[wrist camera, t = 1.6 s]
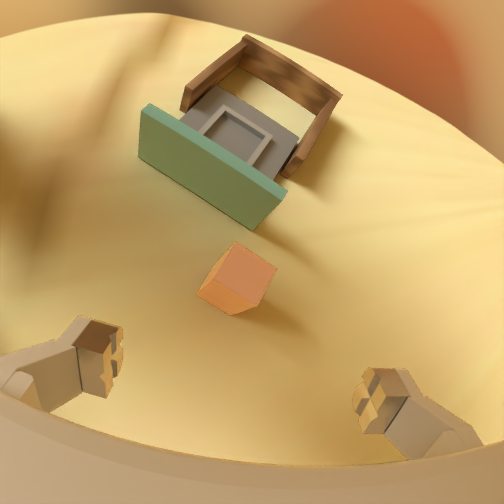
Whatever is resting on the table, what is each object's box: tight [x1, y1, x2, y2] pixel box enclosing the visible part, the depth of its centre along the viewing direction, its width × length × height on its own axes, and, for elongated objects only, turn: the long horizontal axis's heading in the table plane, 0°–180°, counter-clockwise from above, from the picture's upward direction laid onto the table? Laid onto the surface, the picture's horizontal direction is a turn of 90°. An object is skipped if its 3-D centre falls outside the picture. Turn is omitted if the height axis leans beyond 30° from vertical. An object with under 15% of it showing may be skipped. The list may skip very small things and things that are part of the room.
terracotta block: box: [196, 242, 277, 316], centre depth 33 cm, size 4×4×9 cm
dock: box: [179, 34, 343, 179], centre depth 43 cm, size 18×16×6 cm
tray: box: [138, 85, 299, 231], centre depth 38 cm, size 17×16×9 cm
